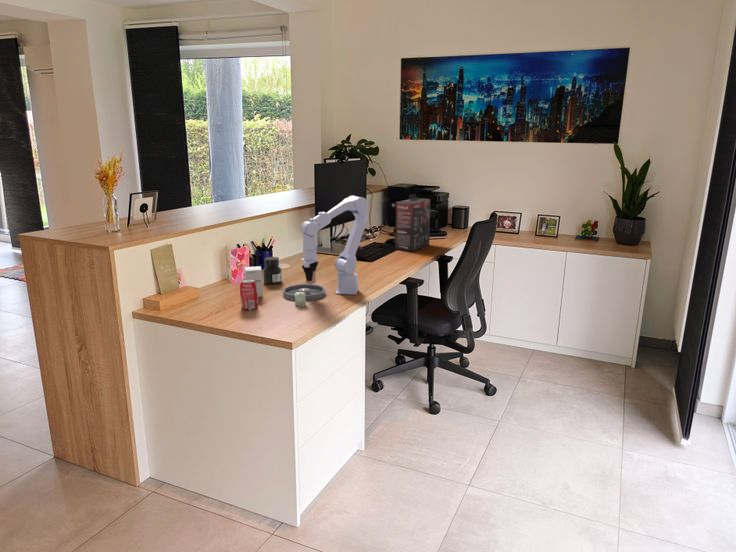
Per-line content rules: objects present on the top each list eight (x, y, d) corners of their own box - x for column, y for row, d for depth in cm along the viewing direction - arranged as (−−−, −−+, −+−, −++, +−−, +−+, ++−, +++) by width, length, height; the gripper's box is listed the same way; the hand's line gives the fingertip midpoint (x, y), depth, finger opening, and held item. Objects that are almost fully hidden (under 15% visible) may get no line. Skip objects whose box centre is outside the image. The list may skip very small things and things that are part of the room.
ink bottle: (277, 285, 265) (276, 261, 262) (260, 284, 266) (259, 260, 263) (284, 280, 274) (283, 256, 271) (268, 279, 276) (266, 255, 273)
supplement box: (246, 298, 245) (244, 270, 242) (245, 293, 252) (243, 266, 249) (263, 296, 247) (261, 269, 244) (261, 292, 254) (260, 265, 250)
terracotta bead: (316, 281, 246) (316, 270, 244) (314, 284, 242) (314, 272, 240) (307, 281, 246) (306, 270, 245) (304, 283, 242) (304, 272, 241)
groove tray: (328, 289, 258) (328, 284, 258) (320, 301, 240) (320, 296, 240) (289, 287, 261) (289, 283, 260) (278, 299, 243) (277, 295, 242)
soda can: (251, 304, 236) (249, 277, 233) (261, 307, 232) (260, 280, 229) (237, 308, 231) (235, 280, 228) (248, 311, 227) (246, 283, 224)
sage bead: (306, 303, 238) (306, 292, 236) (304, 306, 234) (303, 295, 232) (296, 303, 238) (296, 291, 237) (294, 306, 234) (293, 294, 233)
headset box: (413, 242, 362) (414, 192, 353) (430, 245, 356) (431, 193, 347) (394, 249, 342) (395, 196, 333) (412, 252, 335) (413, 197, 327)
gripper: (304, 245, 247) (305, 274, 251) (296, 252, 234) (297, 283, 237) (320, 245, 247) (320, 275, 250) (313, 253, 233) (314, 284, 236)
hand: (310, 279), depth 244 cm, fingers closed on terracotta bead, 4 cm apart
